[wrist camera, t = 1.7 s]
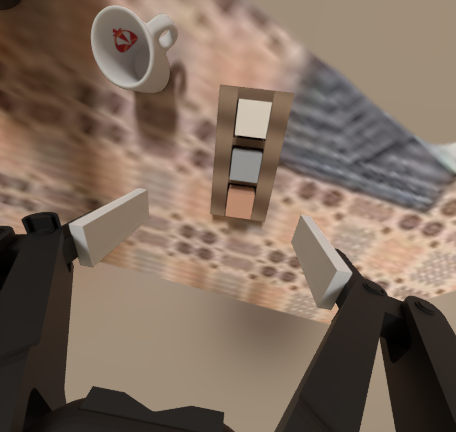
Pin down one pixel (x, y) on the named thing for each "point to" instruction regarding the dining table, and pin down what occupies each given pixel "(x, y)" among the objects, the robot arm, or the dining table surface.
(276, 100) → the key block
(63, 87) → the dining table surface
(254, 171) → the slate key
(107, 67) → the cup
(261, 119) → the cream key
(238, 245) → the dining table surface
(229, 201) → the terracotta key
